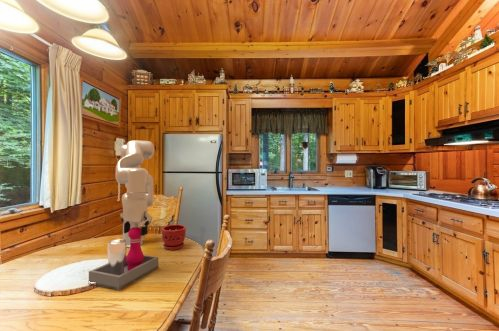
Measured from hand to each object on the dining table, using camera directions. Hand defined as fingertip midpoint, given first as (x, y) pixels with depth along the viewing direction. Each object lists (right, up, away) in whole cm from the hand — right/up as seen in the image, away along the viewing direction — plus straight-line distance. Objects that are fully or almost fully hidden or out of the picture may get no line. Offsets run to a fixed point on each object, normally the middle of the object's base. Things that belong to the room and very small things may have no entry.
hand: (135, 233), depth 111 cm
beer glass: (-3, -16, -10) cm, 19 cm away
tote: (-2, -16, -5) cm, 17 cm away
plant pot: (+7, -17, +32) cm, 37 cm away
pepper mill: (0, -16, -1) cm, 16 cm away
